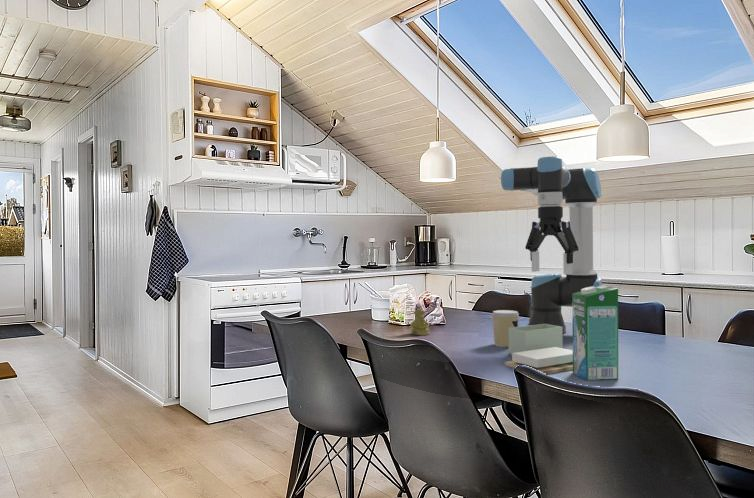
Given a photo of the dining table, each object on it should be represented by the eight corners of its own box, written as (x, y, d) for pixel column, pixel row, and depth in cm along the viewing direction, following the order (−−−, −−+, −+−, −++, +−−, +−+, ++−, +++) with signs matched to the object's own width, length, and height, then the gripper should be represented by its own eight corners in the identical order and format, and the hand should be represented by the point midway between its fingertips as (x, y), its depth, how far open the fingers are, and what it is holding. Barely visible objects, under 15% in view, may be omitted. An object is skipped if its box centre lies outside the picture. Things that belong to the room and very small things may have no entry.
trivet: (552, 357, 187) (552, 354, 187) (590, 366, 174) (590, 363, 174) (504, 365, 177) (504, 362, 177) (540, 375, 164) (540, 371, 164)
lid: (555, 356, 185) (555, 346, 185) (582, 362, 176) (581, 352, 175) (512, 363, 176) (512, 353, 176) (537, 369, 167) (537, 359, 167)
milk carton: (572, 372, 167) (572, 285, 166) (603, 371, 168) (602, 284, 167) (586, 380, 158) (586, 288, 157) (618, 379, 159) (618, 287, 158)
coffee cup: (519, 347, 204) (519, 313, 204) (492, 347, 206) (492, 313, 206) (518, 343, 213) (518, 310, 213) (492, 342, 215) (492, 309, 215)
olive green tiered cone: (432, 334, 234) (432, 309, 234) (418, 336, 230) (417, 311, 229) (421, 332, 240) (421, 307, 240) (406, 334, 236) (406, 309, 235)
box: (544, 350, 200) (544, 323, 200) (562, 354, 193) (562, 326, 193) (508, 355, 192) (508, 327, 192) (526, 359, 185) (525, 331, 185)
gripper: (513, 207, 195) (515, 271, 196) (572, 204, 173) (573, 276, 174) (530, 207, 198) (531, 269, 199) (590, 204, 176) (590, 274, 178)
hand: (551, 272), depth 187 cm, fingers open, 13 cm apart
